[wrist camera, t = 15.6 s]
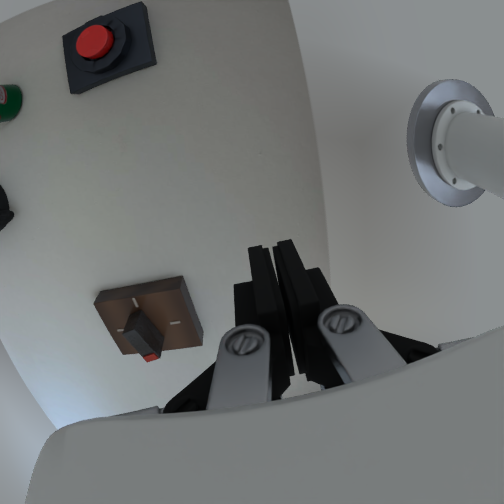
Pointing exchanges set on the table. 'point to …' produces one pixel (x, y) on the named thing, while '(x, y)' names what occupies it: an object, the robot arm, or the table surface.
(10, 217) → the mug
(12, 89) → the soda can
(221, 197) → the table surface
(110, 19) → the button box
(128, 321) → the rotary selector knob
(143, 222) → the table surface
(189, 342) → the panel
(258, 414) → the robot arm
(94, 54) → the button
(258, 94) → the table surface
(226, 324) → the table surface
